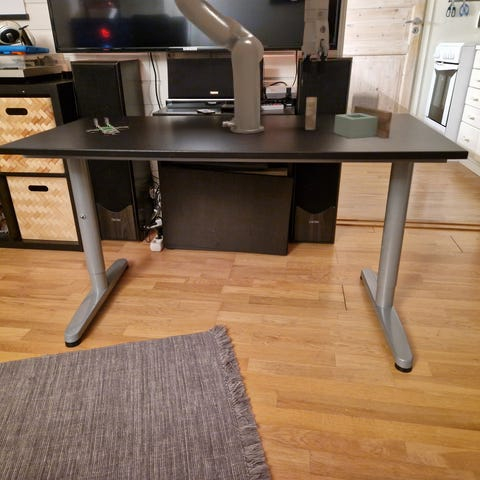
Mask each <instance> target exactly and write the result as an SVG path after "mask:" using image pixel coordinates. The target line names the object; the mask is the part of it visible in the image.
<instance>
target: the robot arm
mask: <svg viewBox="0 0 480 480" xmlns="http://www.w3.org/2000/svg"><path fill="white" fill-rule="evenodd" d="M173 1H174V4H175V6H176V8H177V9H178V11H179V12H180V13H181V14H182V15H183V16H184V17H185V18H186V20H187V21H189V22H190V23H191V24H192V25H193V26H195V28H197V29H198V30H199V31H200V32H201V33H202V34H204V35H205V36H206V37H207V38H208V39H209V40H210V41H211V42H212V43H213V44H215V45H216V46H218V47H223V48H225V49H226V50H228V51H229V52H230V53H231V65H232V75H233V105H234V106H233V107H234V117H232V119H230V121H228V120H225V121H222V122H221V125H222V127H223V128H225V127H226V128H227V127H228V128H230V131H231V132H232V133H235V134H259V133H262V132H263V131H265V126H263V125H261V69H260V68H261V67H260V62H261V61H262V60H263V58H264V55H265V52H264V51H265V50H264V49H265V48H264V46H263V44H262V42H261V40H259V39H258V37H256V36H255V35H254V34H252V33H251V32H250V31H249V30H248V29H246V27H244V26H243V25H242V24H241V23H239V22H238V21H237V20H236V19H234V18H232V17H229V16H226V15H224V14H222V13H221V12H220V11H218V10H217V9H216V8H215V7H214V6H212V4H211V3H210V2H208V1H207V0H173ZM291 1H292V2H293V1H296V0H291ZM329 4H330V0H304V20H303V21H304V31H303V38H302V39H303V41H302V42H303V43H302V46H301V47H300V48H301V55H302V73H303V74H305V73H311V72H312V63H313V62H312V61H313V60H312V57H313V56H315V55H316V59H317V60H316V63H315V64H316V67H315V74H316V75H325V74H326V62H327V60H328V58H327V57H328V55H329V51H330V42H329V41H330V33H329V32H330V31H329V30H330V29H329V28H330V27H329V20H328V19H329Z"/></svg>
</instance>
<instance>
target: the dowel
mask: <svg viewBox="0 0 480 480" xmlns="http://www.w3.org/2000/svg"><path fill="white" fill-rule="evenodd" d="M317 100H318V97H316V96H307V97H306V101H305V103H306V104H305V123H304V124H305V126H304V129H305V130H306V131H314V130H316V122H317V121H316V117H317V102H318V101H317Z"/></svg>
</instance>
